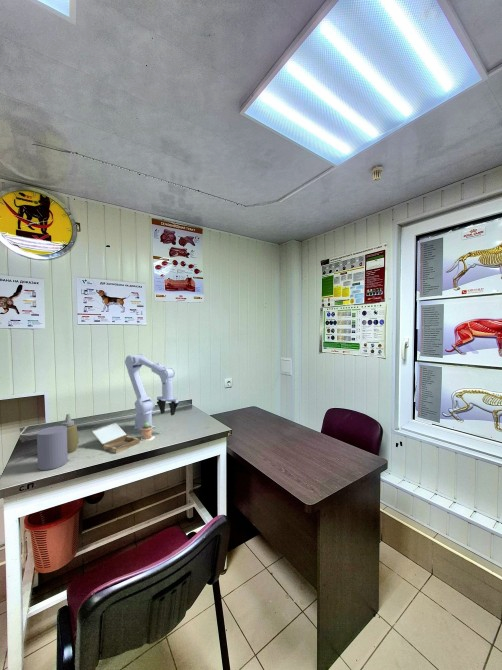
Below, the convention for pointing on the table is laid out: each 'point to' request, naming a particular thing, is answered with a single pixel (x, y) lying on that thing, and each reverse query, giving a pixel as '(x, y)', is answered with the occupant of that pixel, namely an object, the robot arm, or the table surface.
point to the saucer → (148, 439)
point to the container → (52, 447)
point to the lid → (108, 433)
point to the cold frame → (120, 443)
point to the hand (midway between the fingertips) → (167, 414)
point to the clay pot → (146, 431)
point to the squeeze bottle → (71, 434)
